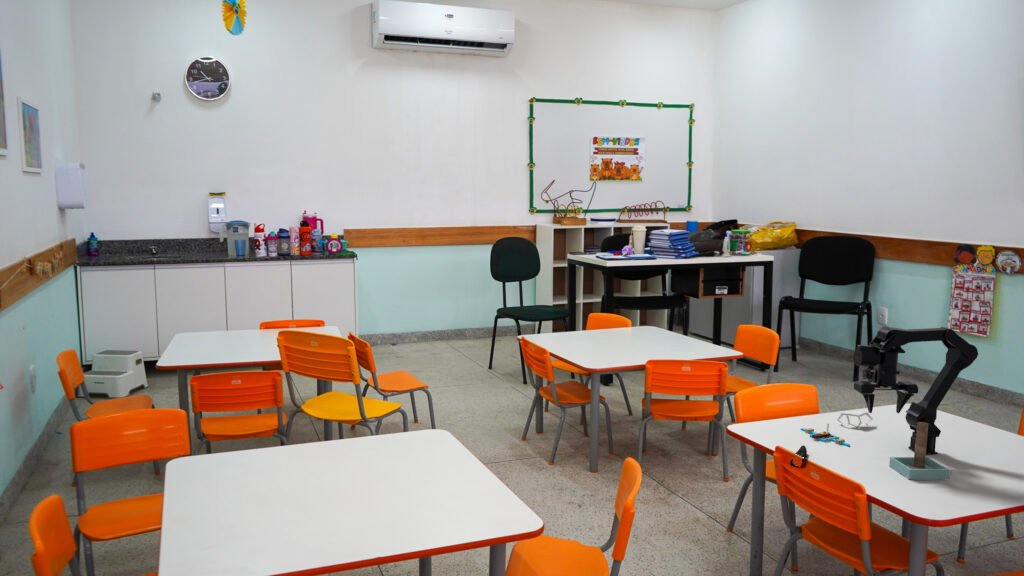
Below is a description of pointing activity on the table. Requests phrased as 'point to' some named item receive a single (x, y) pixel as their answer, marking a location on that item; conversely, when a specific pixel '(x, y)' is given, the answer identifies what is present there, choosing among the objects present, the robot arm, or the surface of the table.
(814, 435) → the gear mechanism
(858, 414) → the eyeglasses
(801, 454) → the electric trimmer
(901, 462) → the tray
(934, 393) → the robot arm
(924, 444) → the rod
